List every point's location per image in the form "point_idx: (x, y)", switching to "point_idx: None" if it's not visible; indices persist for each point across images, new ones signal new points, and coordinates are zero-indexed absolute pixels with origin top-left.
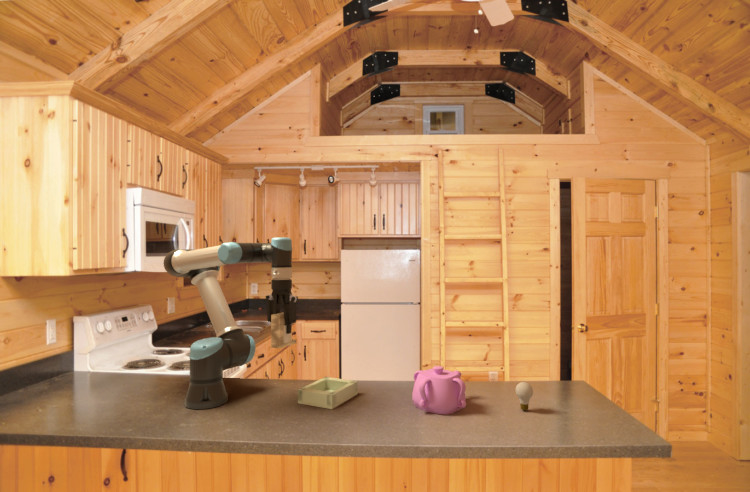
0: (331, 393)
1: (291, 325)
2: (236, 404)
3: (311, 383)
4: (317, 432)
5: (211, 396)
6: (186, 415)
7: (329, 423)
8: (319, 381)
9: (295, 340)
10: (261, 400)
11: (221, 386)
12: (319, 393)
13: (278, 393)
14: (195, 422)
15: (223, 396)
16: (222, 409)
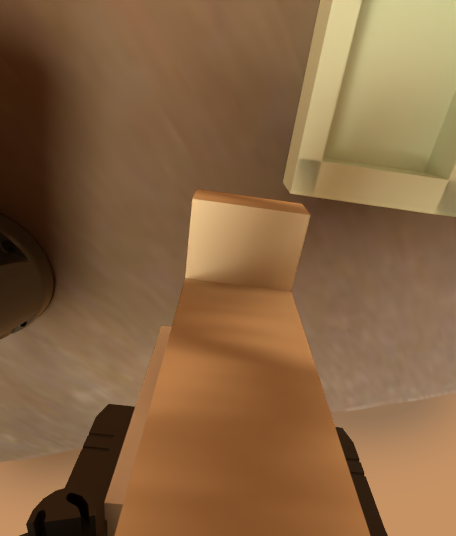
0: (450, 197)
1: (332, 429)
2: (89, 255)
3: (316, 80)
4: (418, 356)
5: (25, 320)
6: (36, 358)
7: (439, 304)
8: (347, 25)
9: (303, 229)
10: (138, 196)
11: (4, 291)
12: (397, 208)
13: (145, 94)
14: (98, 382)
15: (36, 277)
16: (85, 301)
